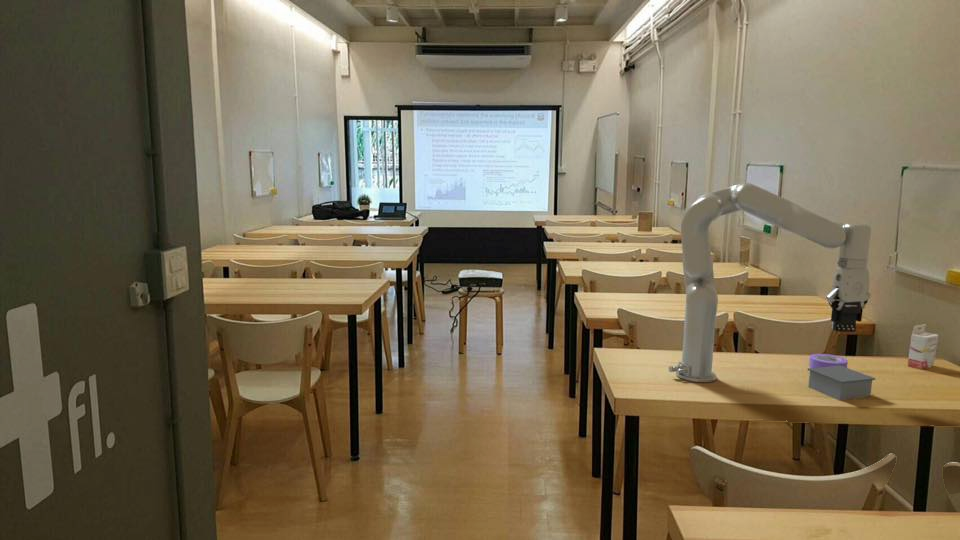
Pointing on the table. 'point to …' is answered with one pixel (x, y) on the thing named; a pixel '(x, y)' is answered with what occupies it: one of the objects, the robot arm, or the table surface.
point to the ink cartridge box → (922, 348)
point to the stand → (840, 382)
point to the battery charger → (847, 317)
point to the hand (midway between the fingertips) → (846, 320)
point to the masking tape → (826, 361)
